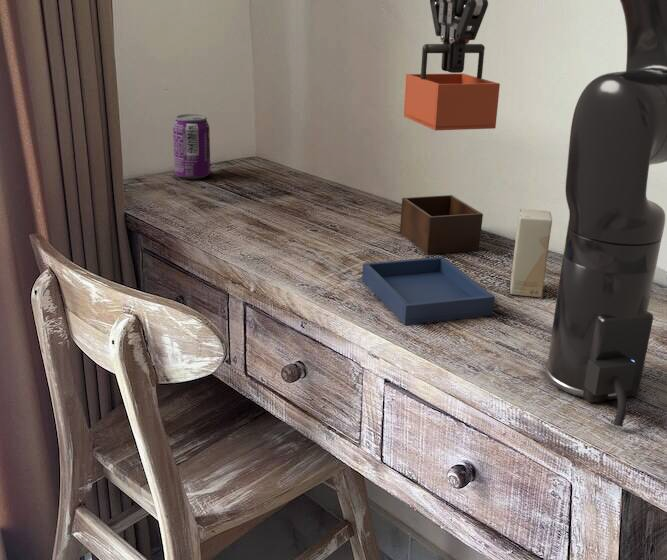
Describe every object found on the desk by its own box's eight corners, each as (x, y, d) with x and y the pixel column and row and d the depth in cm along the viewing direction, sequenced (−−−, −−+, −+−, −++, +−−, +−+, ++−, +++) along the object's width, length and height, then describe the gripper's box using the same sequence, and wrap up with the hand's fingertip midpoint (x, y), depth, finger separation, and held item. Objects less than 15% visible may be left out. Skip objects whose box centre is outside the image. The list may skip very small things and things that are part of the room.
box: (541, 298, 111) (552, 221, 107) (509, 295, 112) (519, 218, 107) (540, 284, 116) (551, 210, 112) (509, 281, 116) (519, 207, 112)
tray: (492, 315, 105) (495, 296, 104) (404, 325, 101) (406, 306, 100) (441, 273, 119) (442, 256, 118) (361, 280, 115) (362, 263, 114)
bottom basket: (479, 250, 129) (483, 213, 126) (427, 254, 126) (430, 217, 124) (448, 229, 138) (451, 194, 136) (399, 232, 135) (402, 197, 133)
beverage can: (217, 175, 165) (216, 116, 161) (194, 182, 160) (192, 121, 155) (191, 170, 169) (189, 112, 164) (167, 176, 163) (165, 117, 159)
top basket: (496, 128, 111) (504, 47, 107) (434, 130, 108) (440, 47, 104) (460, 114, 120) (466, 40, 117) (402, 116, 118) (407, 40, 114)
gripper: (415, -65, 110) (407, 66, 116) (459, -69, 98) (448, 78, 104) (465, -63, 113) (455, 66, 119) (514, -67, 100) (500, 77, 107)
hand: (452, 71), depth 112 cm, fingers closed on top basket, 1 cm apart
